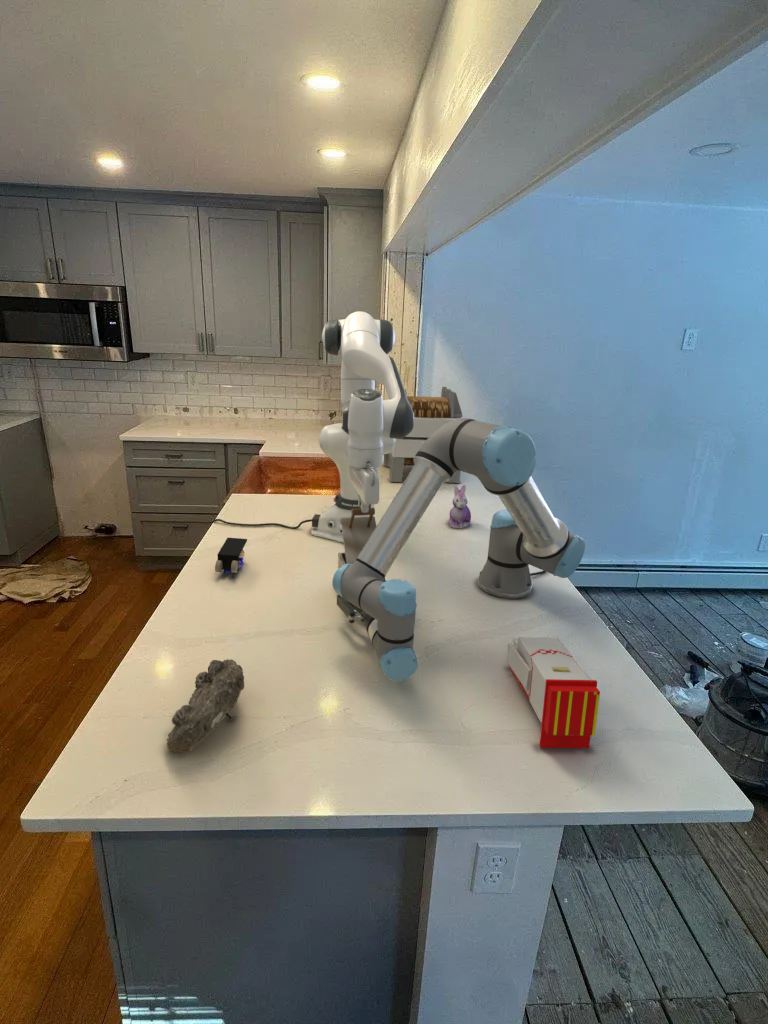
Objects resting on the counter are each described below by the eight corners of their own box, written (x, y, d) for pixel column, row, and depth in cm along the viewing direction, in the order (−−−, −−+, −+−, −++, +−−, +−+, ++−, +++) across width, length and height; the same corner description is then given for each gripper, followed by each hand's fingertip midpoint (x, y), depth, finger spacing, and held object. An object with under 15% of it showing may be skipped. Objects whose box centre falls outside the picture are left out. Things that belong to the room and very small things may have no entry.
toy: (554, 620, 129) (609, 687, 99) (549, 674, 131) (601, 755, 102) (501, 619, 128) (541, 686, 99) (497, 673, 131) (534, 754, 102)
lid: (340, 519, 152) (344, 501, 145) (374, 518, 154) (379, 500, 147) (348, 579, 143) (353, 562, 135) (384, 576, 145) (391, 560, 138)
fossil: (192, 660, 117) (244, 628, 112) (224, 691, 120) (276, 661, 115) (142, 746, 98) (202, 712, 93) (182, 779, 101) (242, 748, 96)
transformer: (382, 463, 289) (386, 382, 275) (445, 464, 293) (451, 384, 279) (390, 482, 257) (394, 392, 243) (460, 483, 261) (468, 394, 247)
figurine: (456, 530, 205) (460, 491, 199) (441, 521, 213) (444, 483, 208) (477, 527, 209) (481, 488, 204) (461, 518, 217) (465, 480, 212)
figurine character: (238, 584, 162) (249, 557, 175) (236, 562, 158) (247, 536, 172) (215, 584, 161) (227, 556, 175) (212, 561, 158) (225, 535, 171)
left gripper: (387, 468, 131) (384, 523, 136) (369, 447, 150) (367, 496, 155) (360, 468, 130) (358, 524, 134) (345, 447, 148) (344, 497, 153)
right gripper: (335, 647, 126) (321, 599, 147) (429, 638, 131) (403, 592, 152) (335, 618, 124) (321, 573, 144) (431, 609, 129) (405, 567, 149)
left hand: (363, 509), depth 145 cm, fingers closed
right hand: (363, 583), depth 148 cm, fingers closed on chest, 9 cm apart
